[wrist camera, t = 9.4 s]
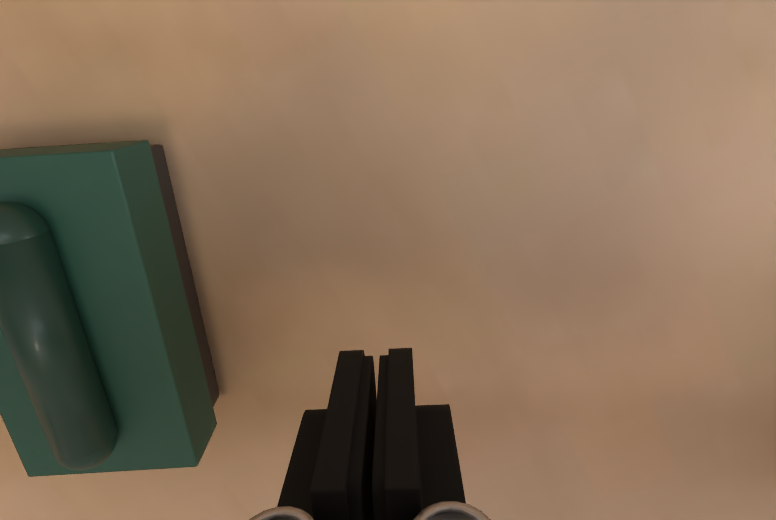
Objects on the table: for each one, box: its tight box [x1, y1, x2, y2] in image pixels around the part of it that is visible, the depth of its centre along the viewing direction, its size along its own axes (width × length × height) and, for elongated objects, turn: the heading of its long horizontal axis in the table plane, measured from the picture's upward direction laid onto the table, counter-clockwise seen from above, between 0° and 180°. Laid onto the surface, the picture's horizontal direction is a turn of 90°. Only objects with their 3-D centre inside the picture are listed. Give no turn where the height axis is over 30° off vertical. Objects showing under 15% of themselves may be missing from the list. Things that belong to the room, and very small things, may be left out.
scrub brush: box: [0, 140, 219, 477], centre depth 15 cm, size 6×11×5 cm, turn 3°
